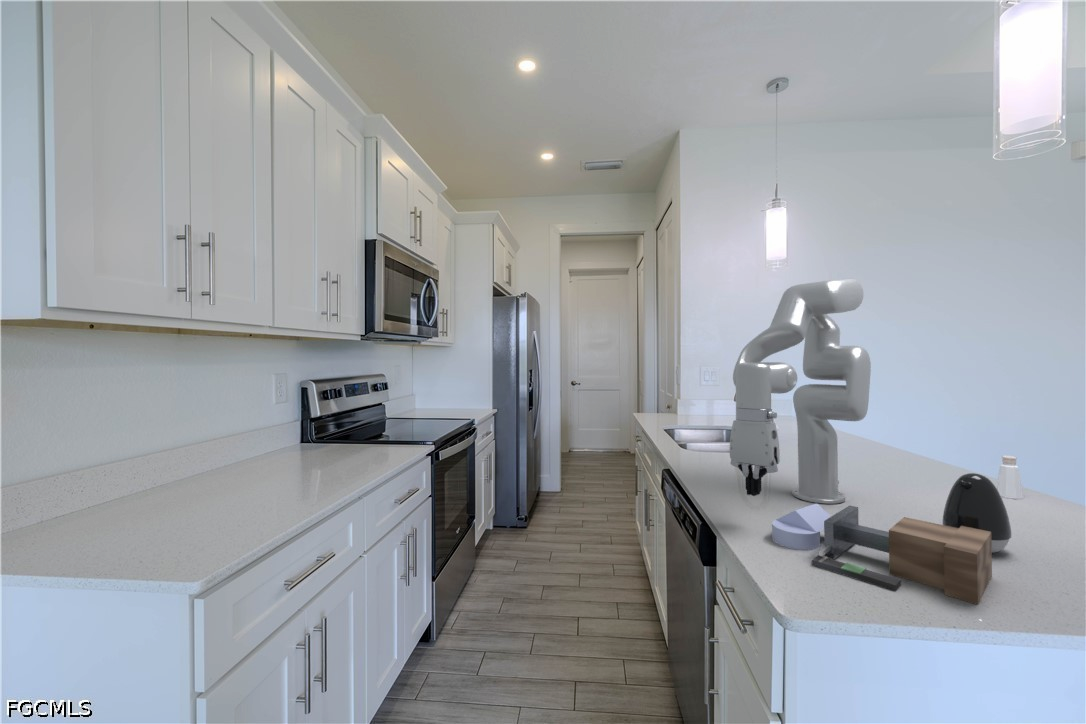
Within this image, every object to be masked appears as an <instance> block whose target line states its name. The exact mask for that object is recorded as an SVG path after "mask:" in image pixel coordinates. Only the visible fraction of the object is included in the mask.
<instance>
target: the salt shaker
mask: <svg viewBox="0 0 1086 724" xmlns="http://www.w3.org/2000/svg"><path fill="white" fill-rule="evenodd" d="M1001 459H1002V464H999V470H998V471H999V472H998V478H997V479H998V480H997V486H996V488H997V490H998V492H999V494H1000V496H1001V498H1004V499H1010V500H1011V499H1012V500H1024V492H1023V488H1022V487H1023V486H1022V485H1023V484H1022V479H1021V473H1020V468H1019V465H1017V457H1016V456H1013V455H1002V456H1001Z"/></svg>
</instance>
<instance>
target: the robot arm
mask: <svg viewBox="0 0 1086 724" xmlns="http://www.w3.org/2000/svg"><path fill="white" fill-rule="evenodd" d="M863 299H864V288H863V285H862V284H861V283H860V282H859V280H857V279H855V278H845V279H831V280H830V279H829V280H823V281H822V280H821V281H814V282H808V283H807V282H806V283H800V284H795V285H792V286H789V288H787V289H785V291H784V292H783V294H782V296H781V298H780V300H779V303H778V305H777V309H776V311H775V313H774V316H773V318H772V321H771V323H770V326H769V327H768V328H767V329H765V330H764V331H761V333H759V334H758V335H757V336H755V337H754V338H753V339H752V340H750V341H749V342H748V343H747V344H746V345H745V346H744V347H743V348H742V350H741V351H740V353H739V356H738V358H737V359H736V360H737V361H736V362H735V365H734V369H733V373H732V380H733V384H734V386H735V419H734V420H733V422H732V426H731V431H730V436H729V437H730V438H729V458H730V463H729V464H730V465H731V466H732V467H735V468H738V469H739V470H740V472H741V473H742V475H743V477H744V478H745V490H746V495H747V496H753V497H755V496H759V495H761V492H762V478H764V476H766V474H773V473H777V472H779V468H778V464H780V462H781V461H780V460H781V456H780V454H781V453H780V443H779V442H780V441H779V436H778V430H777V425H776V423H775V422H772V420H773V419H777V417H778V413H777V412H774V411H773V408H772V394H779V395H780V394H782V395H783V394H788V393H789V392H791V391H793V390H794V388H796V386H797V383H798V374H797V370H796V368H794V367H793V366H792V365H791V364H789V363H786V362H775V361H774V362H770V361H769V362H765V361H763V360H765V359H766V358H768V357H770V356H772V355H775V354H777V353H779V352H782V351H785V350H787V349H790V348H792V347H795V346H797V345H799V344H800V343H801V342H803V341H804V346H803V355H802V371H803V372H802V373H803V375H804V376H805V377H806V378H808V379H810V380H816V381H838V382H839V381H844V382H845V385H844V384H826V383H825V384H824V383H823V384H821V383H813V384H811V383H808V384H803V385H801V386H799V387H798V388H796V390H795V391H794V392H793V396H792V403H793V408H794V412H795V417H796V427H797V459H798V463H797V465H798V466H797V469H798V470H797V471H798V472H797V473H798V474H797V475H798V487H795V488H793V489H792V495H793V496H794V497H795V498H798V499H800V500H801V501H806V502H810V503H814V504H825V505H826V504H827V505H829V504H831V505H834V504H841V503H844V502H845V501H846V495H844V493H842V492H839V484H840V481H839V466H838V465H839V464H838V463H839V462H838V461H839V460H838V458H839V457H838V455H839V454H838V434H837V432H836V430H835V428H834V427H833V425H832V424H831V423H830V420H831V421H841V422H842V421H843V422H859V421H862V420H864V419H865V417H866V416H867V414H868V409H869V403H870V402H869V401H870V389H871V388H870V386H871V372H872V369H871V368H872V364H871V363H872V362H871V358H870V355H869V352H868V351H867V350H866V349H865V348H864V347H862V346H859V345H841V344H840V338H841V329H840V327H839V325H838V324H837V323H836V321H835V320H834V319H833V318H831V316H829V315H831V314H840V313H848V312H852V311H855V310H857V309H858V308H859V307H860V306H861V304H862V303H863ZM762 361H763V362H762Z"/></svg>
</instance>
